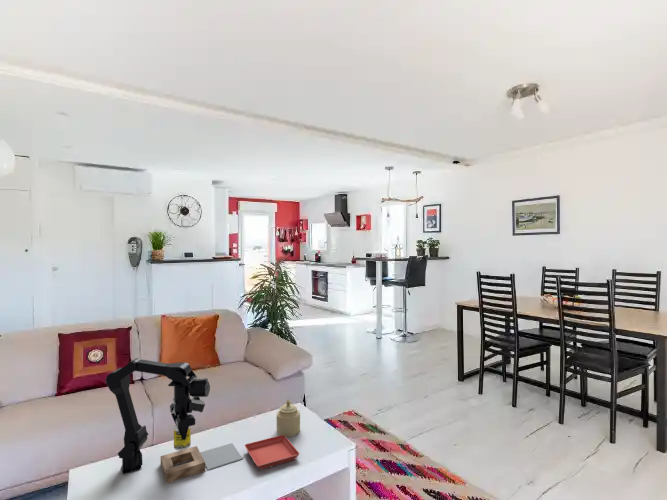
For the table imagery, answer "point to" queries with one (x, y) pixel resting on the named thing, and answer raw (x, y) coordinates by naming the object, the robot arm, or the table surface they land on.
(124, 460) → the robot arm
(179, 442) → the pill bottle
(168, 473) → the holder block
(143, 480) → the table surface
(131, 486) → the table surface
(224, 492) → the table surface
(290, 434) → the sugar bowl
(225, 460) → the slate mat
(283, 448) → the plant saucer
